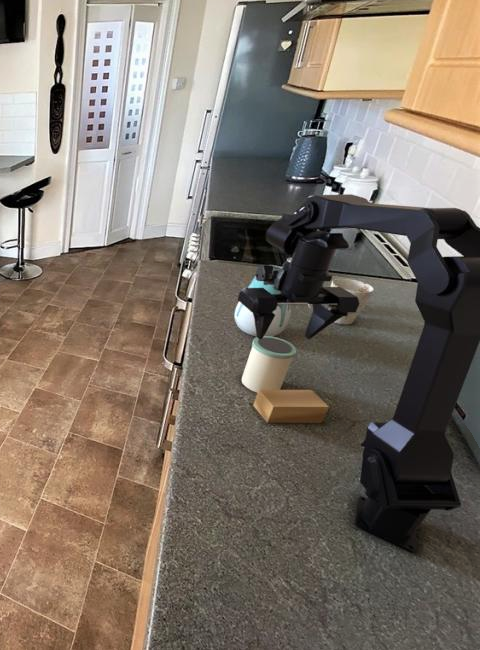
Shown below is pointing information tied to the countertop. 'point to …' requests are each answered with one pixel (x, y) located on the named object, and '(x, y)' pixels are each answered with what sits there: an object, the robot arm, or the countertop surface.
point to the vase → (282, 312)
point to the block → (290, 406)
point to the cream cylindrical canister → (268, 363)
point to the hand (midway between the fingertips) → (283, 338)
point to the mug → (355, 288)
